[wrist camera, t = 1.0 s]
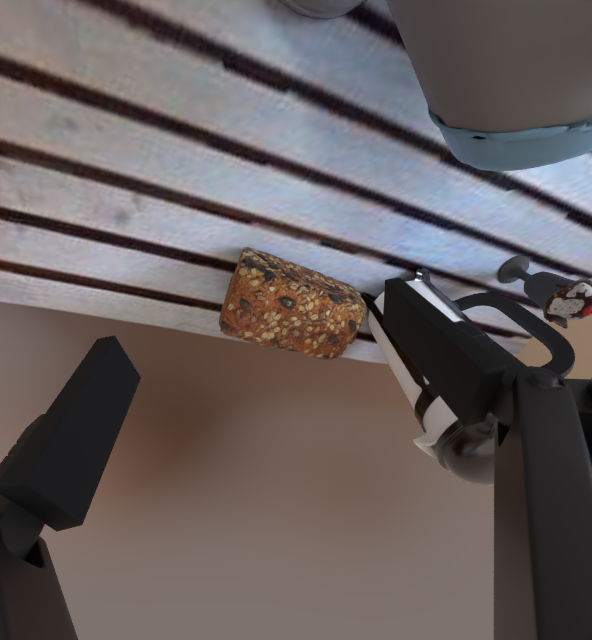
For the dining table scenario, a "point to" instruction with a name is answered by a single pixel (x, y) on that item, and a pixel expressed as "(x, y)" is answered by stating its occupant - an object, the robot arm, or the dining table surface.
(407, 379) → the coffee press
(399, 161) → the dining table surface
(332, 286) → the bread
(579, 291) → the sundae
